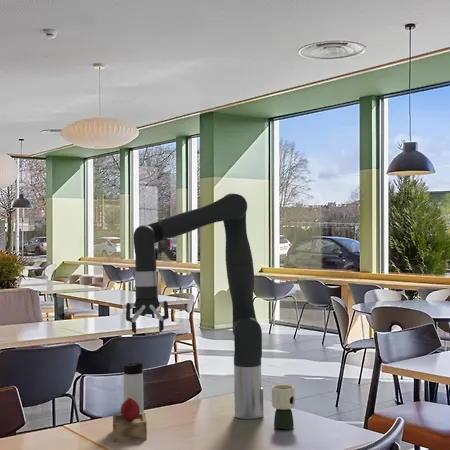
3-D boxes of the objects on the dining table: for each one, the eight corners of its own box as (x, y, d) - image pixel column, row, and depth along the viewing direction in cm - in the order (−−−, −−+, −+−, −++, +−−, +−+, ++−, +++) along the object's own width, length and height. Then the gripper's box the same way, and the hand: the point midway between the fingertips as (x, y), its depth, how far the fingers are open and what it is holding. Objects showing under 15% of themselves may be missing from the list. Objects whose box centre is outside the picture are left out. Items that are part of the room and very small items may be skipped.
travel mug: (134, 427, 207) (133, 365, 207) (120, 424, 211) (119, 363, 211) (148, 423, 212) (147, 361, 212) (134, 419, 216) (133, 359, 216)
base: (145, 429, 205) (144, 412, 205) (146, 439, 195) (146, 421, 195) (113, 431, 203) (112, 415, 203) (113, 441, 193) (112, 424, 194)
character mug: (293, 434, 198) (292, 391, 198) (270, 433, 199) (269, 390, 199) (296, 423, 208) (295, 383, 208) (274, 422, 210) (273, 382, 210)
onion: (141, 419, 202) (141, 393, 202) (137, 425, 196) (136, 398, 196) (123, 419, 203) (123, 393, 203) (118, 424, 197) (118, 398, 197)
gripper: (166, 282, 223) (167, 329, 223) (124, 284, 220) (125, 332, 220) (168, 284, 216) (170, 333, 216) (125, 286, 213) (126, 335, 213)
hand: (147, 332), depth 218 cm, fingers open, 8 cm apart
